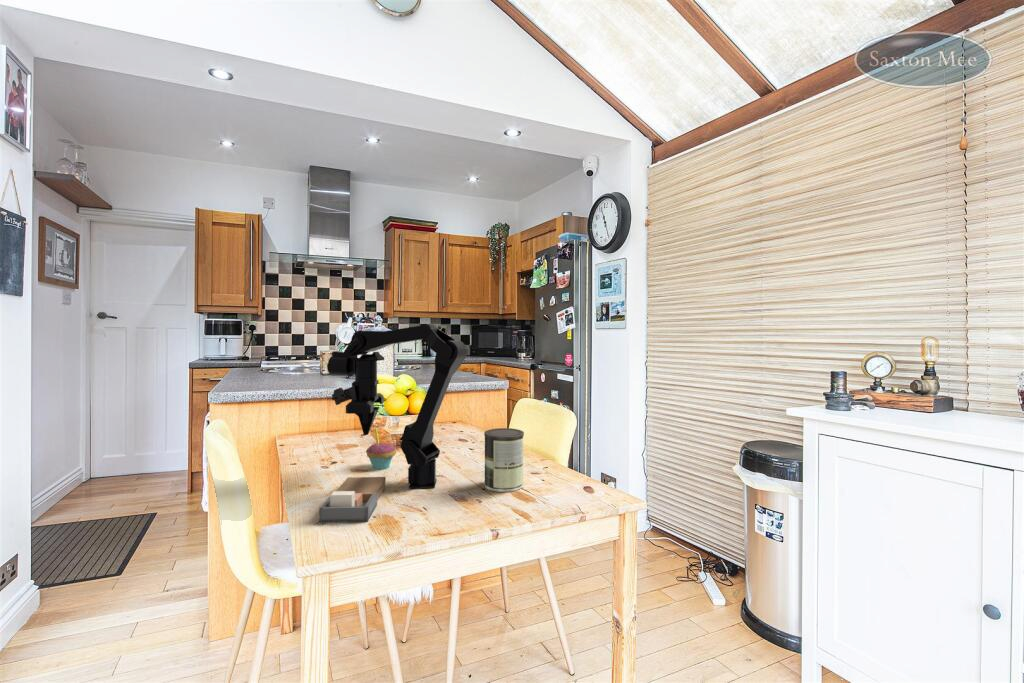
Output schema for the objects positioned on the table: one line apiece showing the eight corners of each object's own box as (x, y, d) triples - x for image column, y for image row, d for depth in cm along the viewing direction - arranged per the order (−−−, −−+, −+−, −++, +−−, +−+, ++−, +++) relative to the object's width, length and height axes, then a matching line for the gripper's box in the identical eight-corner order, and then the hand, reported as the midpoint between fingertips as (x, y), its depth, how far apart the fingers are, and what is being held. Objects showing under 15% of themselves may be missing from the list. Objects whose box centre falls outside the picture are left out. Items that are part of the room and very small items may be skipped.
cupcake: (360, 469, 139) (360, 428, 139) (375, 462, 148) (375, 423, 147) (387, 472, 137) (387, 430, 137) (401, 464, 146) (401, 424, 145)
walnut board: (385, 486, 125) (385, 476, 125) (375, 504, 112) (375, 493, 112) (348, 487, 124) (348, 477, 124) (333, 505, 111) (333, 494, 111)
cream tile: (354, 491, 106) (351, 494, 104) (354, 511, 106) (351, 515, 104) (334, 491, 106) (330, 495, 103) (334, 511, 106) (330, 516, 103)
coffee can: (476, 487, 124) (476, 433, 124) (497, 477, 133) (498, 426, 133) (510, 495, 119) (510, 438, 119) (530, 483, 128) (531, 430, 128)
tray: (377, 505, 112) (377, 492, 112) (367, 521, 102) (367, 507, 102) (332, 505, 111) (332, 492, 111) (319, 522, 101) (318, 508, 101)
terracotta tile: (362, 504, 111) (362, 493, 111) (357, 511, 106) (357, 500, 106) (342, 504, 110) (342, 493, 110) (336, 511, 106) (336, 500, 106)
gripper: (344, 373, 139) (344, 427, 140) (324, 380, 121) (324, 443, 121) (384, 373, 140) (384, 427, 141) (370, 380, 122) (370, 442, 122)
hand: (366, 434), depth 131 cm, fingers closed
